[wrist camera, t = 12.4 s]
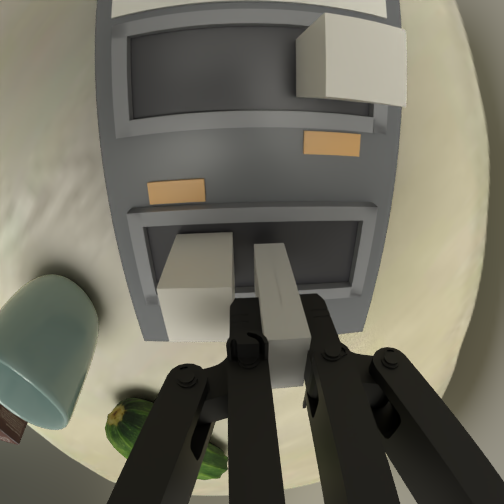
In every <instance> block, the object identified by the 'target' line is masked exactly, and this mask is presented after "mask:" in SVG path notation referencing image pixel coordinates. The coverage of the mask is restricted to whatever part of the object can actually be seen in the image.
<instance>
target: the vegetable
mask: <svg viewBox="0 0 504 504" xmlns="http://www.w3.org/2000/svg"><path fill="white" fill-rule="evenodd" d="M153 404H154V403H152V402H150V401H148V400H144V399H139V398H129V399H126V400H124V401H121V402H119V404H117V406H116V407H115V408H114V409H113V411H112V412H111V413H110V414H108V416H107V418H108V419H107V423H106V426H105V431H106V436H107V438H108V440H109V441H110V443H111V444H112V445H113V447H114V448H115V449H116V450H117V451H118V452H119V453H121V454H122V455H123V456H124V457H125V458H127V459H128V457H129V454H130V452H131V450H132V448H133V446H134V444H135V442H136V440H137V437H138V435H139V433H140V431H141V429H142V427H143V425H144V423H145V421H146V419H147V417H148V414H149V412H150V410H151V408H152V406H153ZM227 461H228V457H226V456H225V455H224V453H223V451H222V450H221V449H220V448H218V447H216V446H214V445H213V444H211V443H208V446H207V449H206V452H205V455H204V458H203V461H202V464H201V468H200V471H199V474H198V477H197V479H201V480H208V479H218V478H220V477H221V475H222V474H223V473H224V472H226V471H227V470H228V468H227Z"/></svg>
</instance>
